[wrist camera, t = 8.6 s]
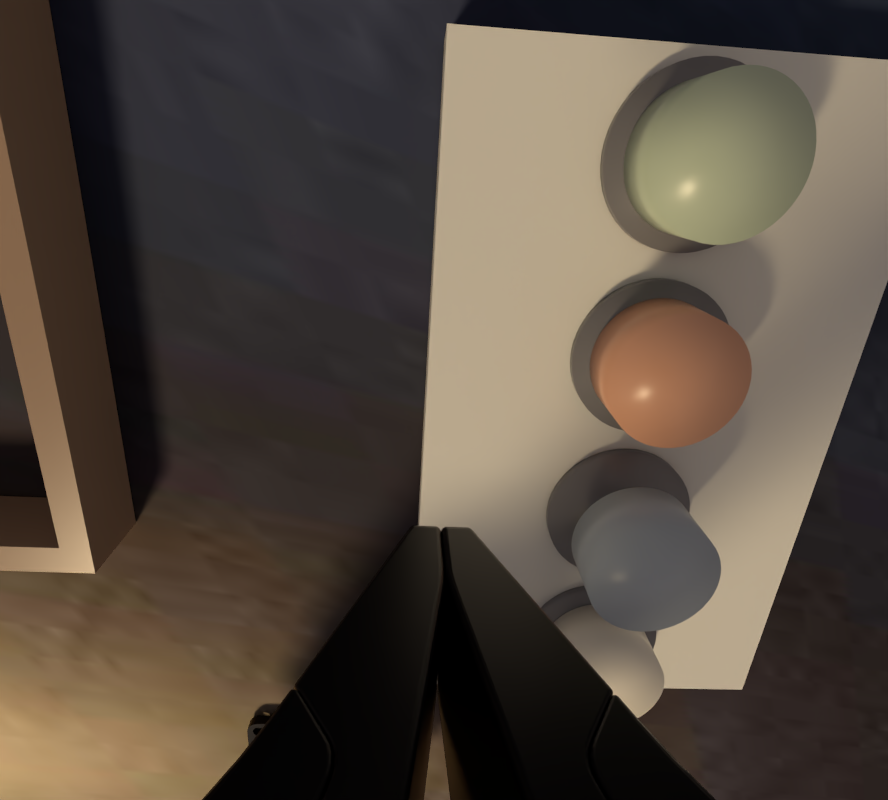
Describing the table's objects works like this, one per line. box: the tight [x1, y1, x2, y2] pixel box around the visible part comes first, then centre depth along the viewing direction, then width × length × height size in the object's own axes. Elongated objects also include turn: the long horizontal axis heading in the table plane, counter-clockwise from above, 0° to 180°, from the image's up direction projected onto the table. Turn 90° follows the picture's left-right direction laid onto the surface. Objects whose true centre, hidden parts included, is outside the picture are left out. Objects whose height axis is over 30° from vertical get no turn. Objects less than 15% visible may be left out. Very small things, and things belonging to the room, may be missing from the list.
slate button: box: [571, 487, 721, 632], centre depth 18 cm, size 4×4×2 cm
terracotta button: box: [590, 298, 752, 448], centre depth 17 cm, size 4×4×2 cm
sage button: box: [624, 65, 817, 245], centre depth 15 cm, size 4×4×2 cm
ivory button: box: [554, 605, 664, 718], centre depth 21 cm, size 4×4×2 cm
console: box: [418, 23, 888, 690], centre depth 20 cm, size 23×14×2 cm, turn 176°
